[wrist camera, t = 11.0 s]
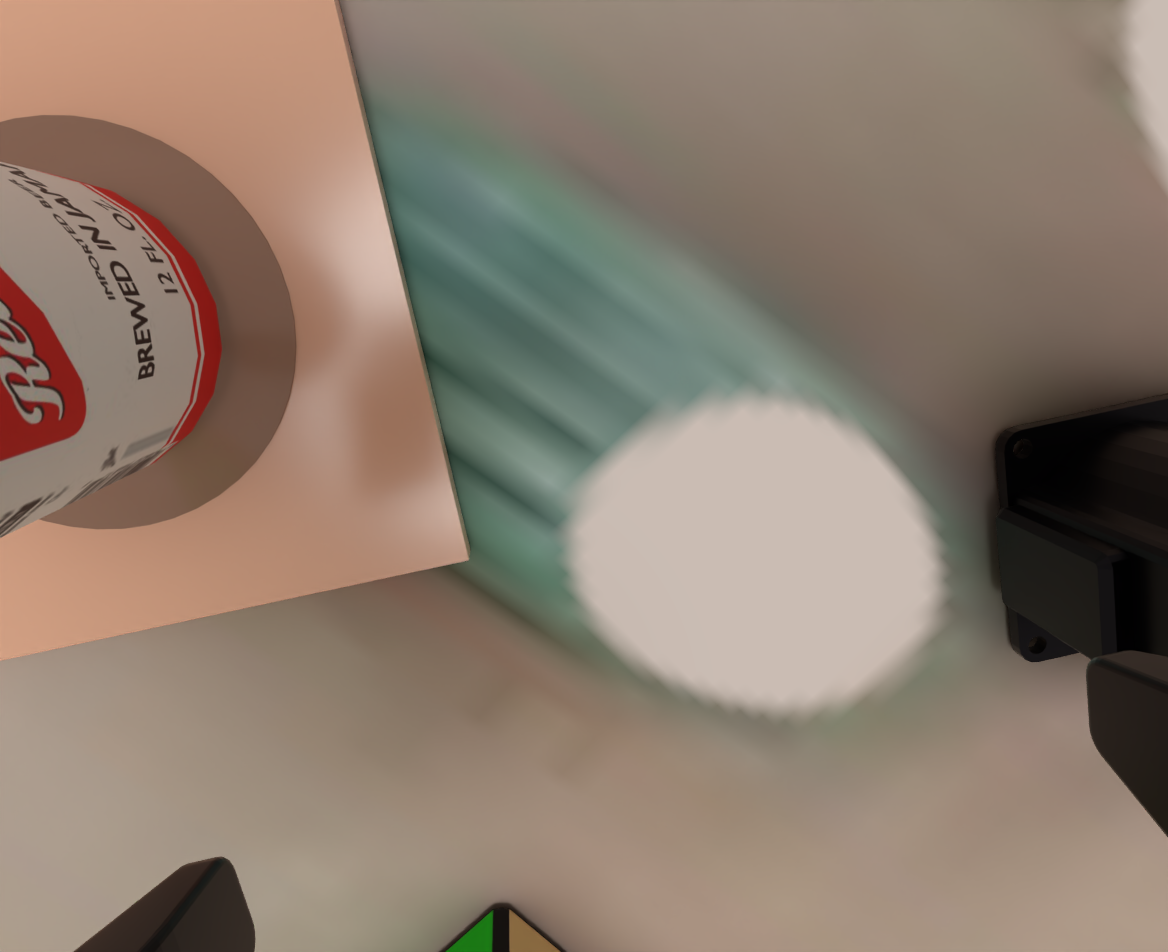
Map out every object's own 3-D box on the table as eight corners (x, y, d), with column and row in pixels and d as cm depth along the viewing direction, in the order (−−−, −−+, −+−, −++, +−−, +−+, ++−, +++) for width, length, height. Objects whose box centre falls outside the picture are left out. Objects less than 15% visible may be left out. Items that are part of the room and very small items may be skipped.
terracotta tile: (324, -58, 18) (315, -76, 17) (470, 550, 21) (468, 561, 20) (-341, 64, 17) (-386, 52, 17) (-87, 669, 21) (-113, 686, 20)
